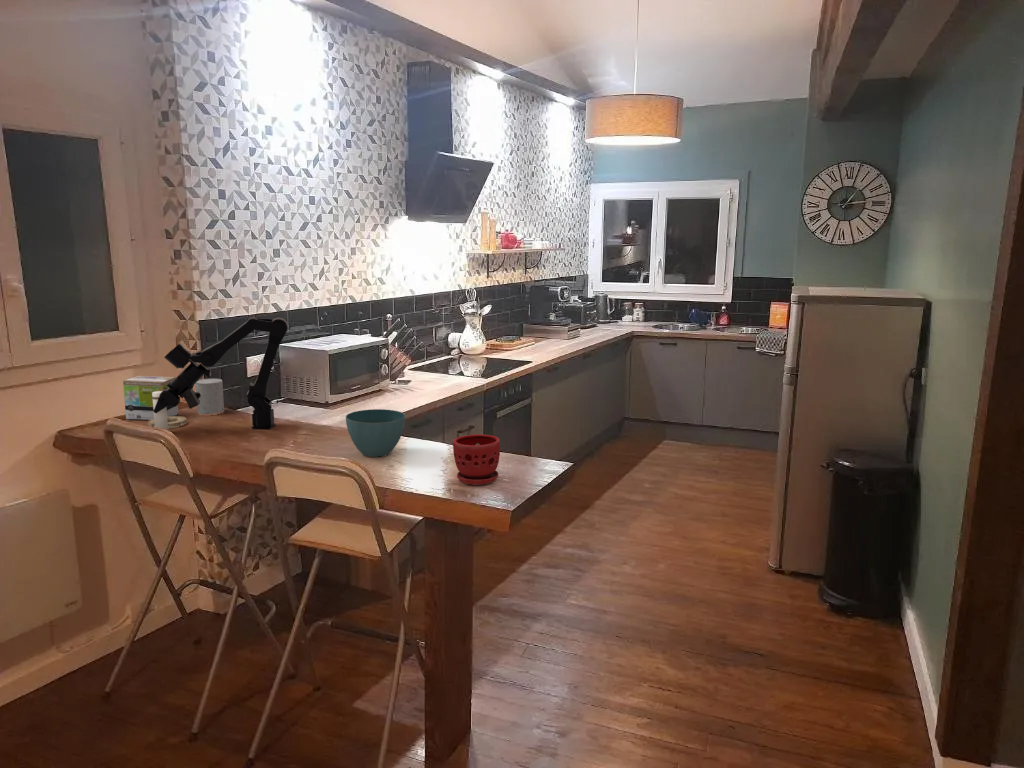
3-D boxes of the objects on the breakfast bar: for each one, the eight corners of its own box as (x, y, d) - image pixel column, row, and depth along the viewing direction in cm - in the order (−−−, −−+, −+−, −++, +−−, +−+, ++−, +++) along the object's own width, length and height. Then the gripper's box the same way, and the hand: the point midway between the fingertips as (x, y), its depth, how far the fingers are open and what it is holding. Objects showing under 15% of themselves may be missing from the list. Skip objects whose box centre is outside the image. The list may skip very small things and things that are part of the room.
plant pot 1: (380, 442, 243) (379, 406, 241) (417, 453, 232) (417, 415, 229) (334, 453, 230) (333, 415, 227) (372, 466, 218) (371, 425, 216)
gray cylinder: (208, 417, 273) (206, 384, 271) (191, 413, 278) (189, 381, 275) (229, 411, 281) (228, 380, 279) (213, 408, 286) (211, 377, 283)
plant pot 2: (499, 472, 214) (499, 433, 211) (500, 488, 201) (500, 445, 198) (454, 472, 213) (454, 432, 211) (452, 487, 200) (452, 445, 198)
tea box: (125, 420, 267) (121, 380, 264) (140, 413, 276) (136, 375, 273) (166, 421, 266) (162, 381, 263) (179, 414, 276) (176, 375, 273)
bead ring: (192, 421, 267) (192, 416, 266) (175, 429, 255) (175, 424, 255) (160, 419, 267) (160, 415, 267) (142, 428, 256) (142, 423, 255)
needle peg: (170, 431, 253) (167, 391, 250) (164, 434, 249) (161, 393, 246) (159, 430, 253) (156, 390, 250) (152, 433, 249) (149, 393, 246)
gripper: (204, 399, 244) (171, 433, 243) (210, 387, 261) (179, 419, 260) (177, 376, 240) (142, 411, 239) (184, 366, 257) (152, 399, 257)
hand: (155, 411), depth 249 cm, fingers closed on needle peg, 4 cm apart
